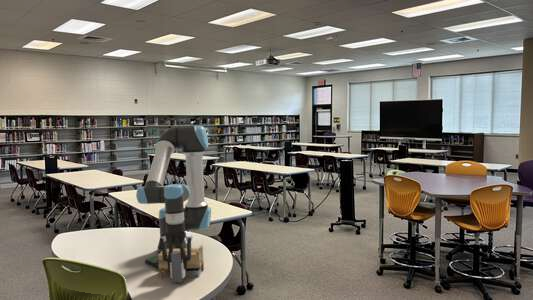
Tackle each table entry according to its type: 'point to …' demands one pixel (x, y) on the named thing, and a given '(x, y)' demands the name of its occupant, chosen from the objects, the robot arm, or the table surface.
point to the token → (193, 272)
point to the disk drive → (153, 262)
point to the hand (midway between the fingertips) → (178, 276)
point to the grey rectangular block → (176, 266)
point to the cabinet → (194, 262)
